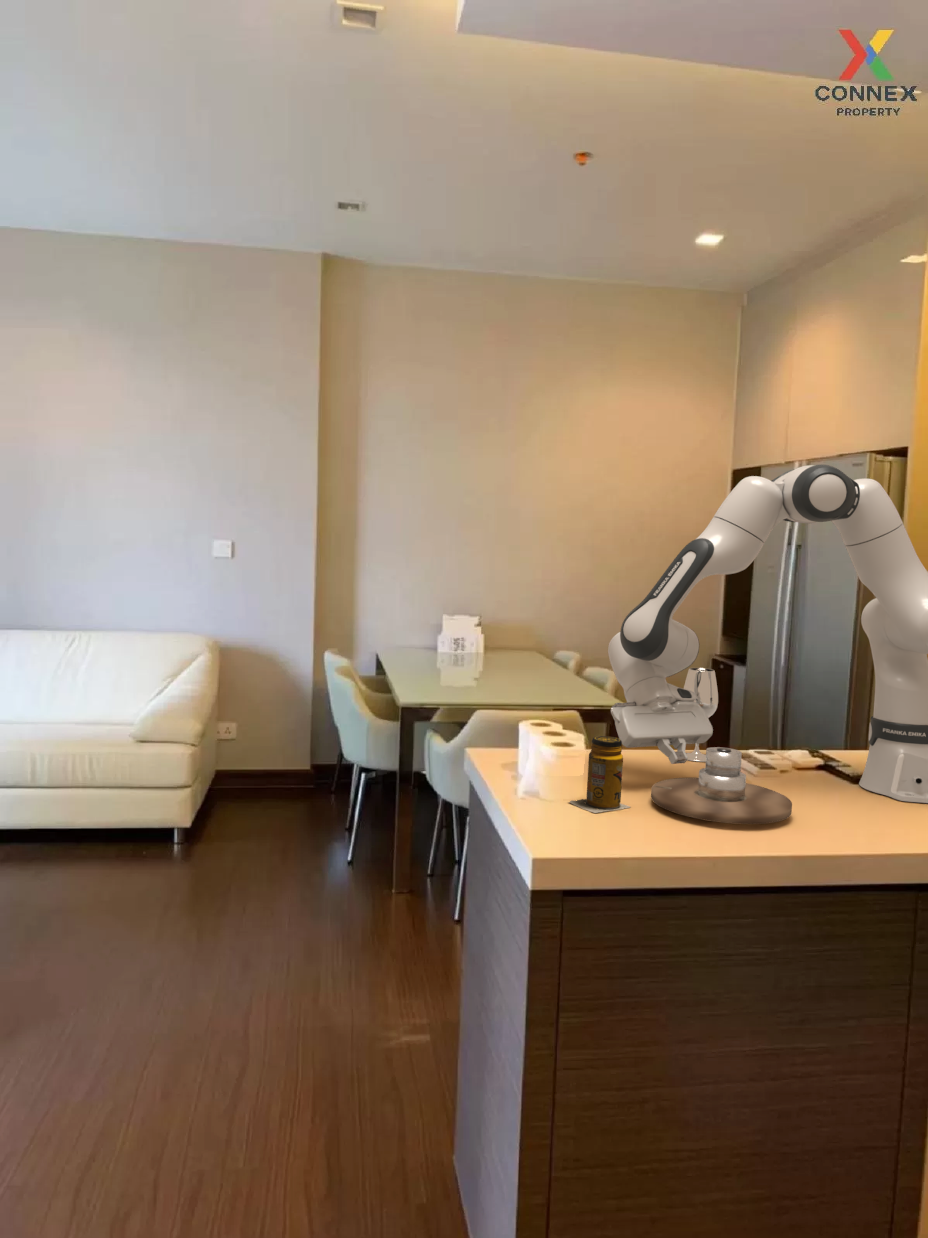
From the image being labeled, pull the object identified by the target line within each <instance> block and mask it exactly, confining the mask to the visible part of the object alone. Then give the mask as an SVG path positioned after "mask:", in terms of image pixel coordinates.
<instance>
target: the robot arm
mask: <svg viewBox="0 0 928 1238" xmlns="http://www.w3.org/2000/svg"><path fill="white" fill-rule="evenodd" d="M782 521H785V522H788V523H798V524H807V525H808V524H814V523H823V522H824V523H825V522H831V523H832V524H833V525H834V526H835V527H836V529H837V530H838V532H839V535H840V537H841V539H842V542H843V544H844V547H845V550H846V551H847V555H848V557H849V558H850V560H851V563H852V565H853V567H854V570H855V573H856V575H857V577H858V579H859V580H860V582H861V583H862V584H863V585H864V586H865V587H866V588H867V589H868V590H869V591H870V592H871V593H872V594H873V595H874V598H872V599H871V600H870V601H869V602H867V604H865V606H864V608H863V610H862V613H861V616H860V617H861V618H860V623H861V627H862V629H863V631H864V633H865V635H866V636H867V638H868V641H869V645H870V650H871V656H872V661H873V669H874V675H875V676H874V677H875V679H874V680H875V684H874V699H873V700H874V703H873V714H872V716H871V717H870V720H869V721H870V722H869V725H868V743H869V748H868V754H867V756H866V761H865V762H866V763H865V767H864V769H863V773H862V775H861V778H860V780H859V782H858V785H859V786H860V787H861V788H863V789H865V790H867V791H870V792H873V793H876V794H880V795H884V796H887V797H889V798H892V799H894V800H897V801H902V802H909V803H922V804H928V570H927V568H925V566H924V565H923V563H922V562H921V559H920V558H919V556H918V555H917V552H916V549H915V547H914V546H913V543H912V540H911V538H910V535H909V534H908V531H907V529H906V527H905V525H904V522H903V520H902V518H901V516H900V513H899V511H898V510H897V507H896V505H895V504H894V502H893V501H892V499H891V497H890V496H889V494H888V493H887V491H886V490H885V489H884V487H883V486H882V485H881V483H880V482H879V481H877V480H875V479H872V478H865V477H864V478H857V479H853V478H851V477H850V476H848V475H847V474H845V472H843V471H842V470H841V469H839V468H838V467H834V466H832V465H828V464H811V465H803V466H799V467H797V468H795V469H790V470H787V471H785V472H783V473H782V474H780V475H778V476H777V477H775V478H774V479H771V480H770V479H769V478H767V477H762V476H760V475H759V476H757V475H755V476H754V475H751V476H750V475H749V476H746V477H744V478H743V479H741V480H740V481H739V482H738V483H737V484H736V485H735V487H733V489H732V490H731V491H730V492H729V494H728V495H727V496H726V497H725V499H724V500H723V501H722V503H721V505H720V506H719V507H718V509H717V511H716V512H715V513H714V515H713V517H712V519H710V522H709V523H708V524H707V526H706V527H705V529H704V530H703V531H702V533H700V535H699V536H697V537H696V538H694V540H691V541H690V542H688V543H687V544H686V545H685V546H684V547H683V548H682V549H681V550H680V552H679V553H678V554H677V555H676V557H675V558H673V560H672V561H671V563H670V564H669V566H668V567H667V568H666V570H665V571H664V572H663V574H662V575H661V576H660V577H659V579H658V581H656V583H655V584H654V585H653V587H652V589H650V591H649V592H648V594H647V595H646V596H645V598H644V599H643V600H642V601H641V602H639V603H638V604H637V605H636V606H635V607H634V608H633V609H631V610H630V612H629V613H628V614H627V615H626V616H625V618H624V619H623V620H622V621H623V622H622V624H621V626H620V631H619V632H617V633H616V634H615V635H614V636H612V638H611V639H610V641H609V643H608V647H607V653H608V658H609V663H610V666H611V668H612V671H613V673H614V676H615V678H616V680H617V682H618V684H619V685H620V686H621V687H622V689H623V694H624V698H625V700H626V702H616V703H614V704H612V706H611V708H610V714H611V716H612V718H613V720H614V725H615V729H616V732H617V736H618V739H620V740H621V741H622V745H623V746H624V747H625V748H645V747H657V748H658V750H659V752H661V753H662V754H664V756H666V757H667V759H668V760H669V763H670V765H675V764H686V762H687V761H689V760H688V757H687V755H686V753H687V752H686V746H687V745H691V744H692V745H693V744H695V745H696V743H699V744H705V743H706V742H707V741H709V739H710V738H711V737H712V736H713V733H714V732H713V731H714V729H713V728H714V727H713V725H712V723H711V721H710V719H709V718H708V717H707V716H706V714H705V712H704V710H703V709H702V708H701V706H700V705H699V704H697V703H695V702H694V701H695V699H696V696H695V694H694V693H693V692H692V691H690V690H687V689H684V687H683V688H682V687H678V686H677V685H675V684H672V683H668V681H667V680H666V678H669V677H672V676H674V675H676V674H678V673H680V672H682V671H684V670H686V669H689V667H691V666H692V665H693V664H694V663H695V661H696V660H697V658H698V655H699V652H700V640H699V637H698V634H697V633H696V632H695V631H694V630H693V629H692V628H689V626H686V625H685V624H683V623H682V622H679V621H677V620H675V619H673V617H674V614H675V613H676V611H677V610H678V609H679V607H680V606H681V605H682V604H683V602H684V601H685V599H686V598H687V597H688V595H689V594H690V592H691V591H692V590H693V589H694V587H695V586H696V585H697V584H698V583H699V582H700V581H702V580H703V579H705V578H707V577H710V576H714V575H732V574H737V573H740V572H742V571H744V570H746V569H747V568H748V567H749V566H750V565H751V564H752V563H753V562H754V560H755V559H756V558H757V557H758V556H759V553H760V552H761V550H762V548H763V546H764V545H765V543H766V542H767V540H768V538H769V536H770V534H771V532H772V530H774V529H775V527H776V526H777V525H779V523H781V522H782ZM671 746H673V748H674V749H675V750H676V751H675V750H674V749H673V748H672V747H671Z"/></svg>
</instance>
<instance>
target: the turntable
mask: <svg viewBox="0 0 928 1238" xmlns="http://www.w3.org/2000/svg"><path fill="white" fill-rule="evenodd" d="M698 783H699V777H676V778H669V779H663V780H660V781H658V782H655V783H653V785H652V786H651V788H650V797H651V798H650V799H651V801H652V802H653V803H655V804H656V805H657V806H659V807H661V809H664V810H666V811H669V812H672V813H675V814H678V815H681V816H685V817H689V818H693V819H699V820H702V821H708V822H716V823H717V822H718V823H724V824H736V825H762V824H763V825H764V824H772V823H778V822H781V821H784V820H787V819H789V818H790V817H791V816H792V813H793V812H792V809H793V802H792V801H791V799H790V798H788V797H787V796H786V795H784V794H782V793H780V792H778V791H775V790H773V789H770V788H768V787H765V786H764V787H763V786H760V785H756V784H752V783H747V782H746V786H745V799H744V800H742V801H737V802H725V801H716V800H711V799H707V798H704V797H702V796H700V795H699V794H698Z"/></svg>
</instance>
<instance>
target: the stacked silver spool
mask: <svg viewBox="0 0 928 1238" xmlns="http://www.w3.org/2000/svg"><path fill="white" fill-rule="evenodd" d="M705 752H706V753H705V755H706V762H705V765H704V768H701V769H699V771H698V778H699V783H698V794H699V795H700V796H702V797H704V798H707V799H711V800H716V801H725V802H737V801H742V800H744V799H745V786H746V783H747V775H746V773H743V772H741V767H742V755H743V753H742V751H740V750H738V749H734V748H729V747H724V746H723V747H720V746H717V747H715V746H714V747H707V748H706V751H705Z"/></svg>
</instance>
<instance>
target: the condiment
mask: <svg viewBox="0 0 928 1238" xmlns="http://www.w3.org/2000/svg"><path fill="white" fill-rule="evenodd" d="M622 745H623V744H622V741H621V740H620V739H619V737H614V736H606V735H600V736H594V737H592V740H591V746H590V747H591V748H590V749H591V750H590V752H589V754H588V762H587V763H588V765H587V781H586V783H587V784H586V798H585V799H583V798H581V799H576V800H577V801H576V800H569V801H570V802H569V803H570V804H572V805H574V806H576V807H578V808H581V809H582V810H584V811H585V810H586V811H588V812H591V813H594V814H597V813H604V812H610V811H618V810H624V809H629V808H631V806H630V805H627V804H624V803H621V800H622V783H623V781H622V780H623V766H624V756H623V754H622V752H623V750H622Z"/></svg>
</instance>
